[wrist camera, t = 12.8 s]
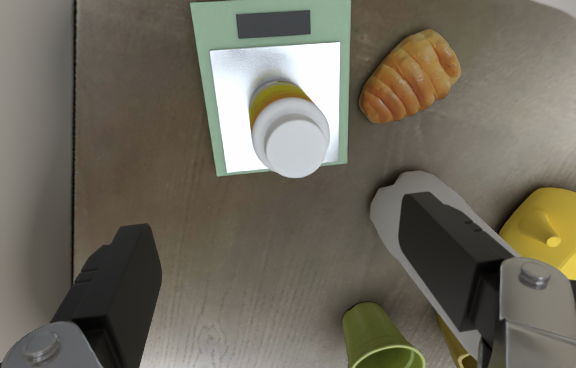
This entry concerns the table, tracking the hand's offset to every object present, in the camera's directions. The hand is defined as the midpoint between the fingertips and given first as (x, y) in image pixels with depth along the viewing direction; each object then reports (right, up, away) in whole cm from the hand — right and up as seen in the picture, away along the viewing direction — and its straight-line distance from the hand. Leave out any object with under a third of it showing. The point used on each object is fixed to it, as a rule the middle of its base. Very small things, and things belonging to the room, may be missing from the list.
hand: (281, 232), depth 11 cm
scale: (-1, +11, +22) cm, 25 cm away
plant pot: (+11, -17, +37) cm, 42 cm away
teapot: (+32, -3, +34) cm, 46 cm away
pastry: (+12, +12, +23) cm, 29 cm away
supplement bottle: (-1, +8, +20) cm, 22 cm away
